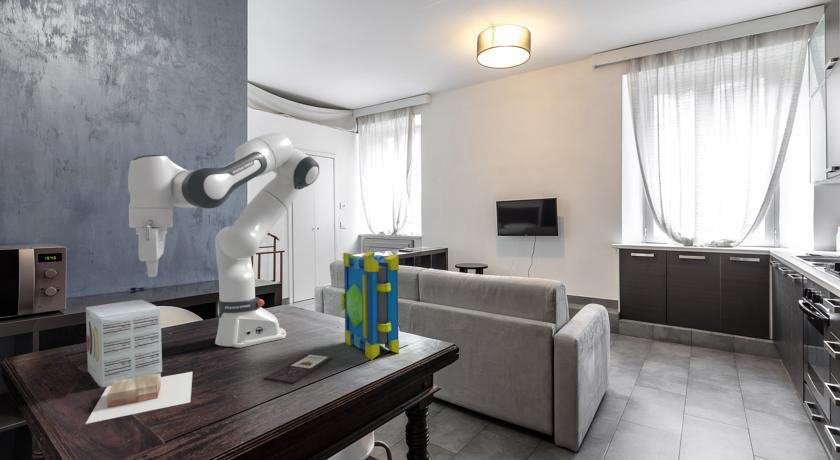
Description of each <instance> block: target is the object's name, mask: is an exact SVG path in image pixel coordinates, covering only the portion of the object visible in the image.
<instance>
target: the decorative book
mask: <svg viewBox="0 0 840 460" xmlns="http://www.w3.org/2000/svg"><path fill="white" fill-rule="evenodd" d="M375 254H376V253H375V251H372V250H371V251H370V250H368V251H367V252H366V253H364V254H362V256H359V255H358V256H357V255H356V256H355V255H353V254H351V253H348V252H343V266H344V273H343V274H344V291H343V292H341V291H340V292H341V296H340V297H341V298H340V299H341V303H340V304H341V310H343V309H344V326H345V327H344V342H345V343H346V344H347V345H348V346H352V345H354V346H356V348H358V349H361V350H363V351H364V356H365V357H366V358H368V359H369V360H370V361H372V360H374V359H375V358H376V357H378V356H379V355H380V350H381V349H380V345H384V348H386V349H387V350H389V351H391V352H393V353H397V354H399V353H400V339H399V294H398V293H399V288H398V287H399V286H398V285H399V277H398V276H399V275H398V271H399V261H400V260H399V259H400V258H399V255H398V254H390V255H388V256H384V255H383V254H382V255H381V254H376V255H375Z"/></svg>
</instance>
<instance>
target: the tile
mask: <svg viewBox="0 0 840 460" xmlns="http://www.w3.org/2000/svg"><path fill="white" fill-rule="evenodd" d="M161 373H162V372H160V373H156V374H152V375H147V376H141V377H135V378H129V379H124V380H118V381H114V383H113V385H110V386H111V388H110V390H109V392H108V393H107V408H110V407H116V406H121V405H126V404H131V403H136V402H141V401H146V400H151V399H157V398H158V395H159V391H160V387H161V377H162V376H161Z"/></svg>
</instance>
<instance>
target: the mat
mask: <svg viewBox="0 0 840 460" xmlns="http://www.w3.org/2000/svg"><path fill="white" fill-rule="evenodd" d="M192 383H193V371H188V372H183V373H177V374H172V375H165V376H161V387H160V391H159V395H158V398H157V399H151V400H146V401H141V402H136V403H131V404H126V405H121V406H116V407H110V408H107V393H108V392H109V390H110V388H111V386H112V385H110V386H106V387H105V390H104V392H103V393H102V395H101V396H100V398H99V400H98V402H97V403H96V405H95V407H94V408H93V410H92V412H91V414H90V415H89V417H88V419H87V420H86V422H85V425H88V424H92V423H93V424H94V423H98V422H103V421H107V420H111V419H117V418H122V417H125V416H131V415H135V414H140V413H145V412H150V411H155V410H160V409H164V408H169V407H174V406H179V405H185V404H188V403H191V399H192V398H191V397H192V387H193V385H192Z"/></svg>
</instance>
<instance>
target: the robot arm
mask: <svg viewBox="0 0 840 460" xmlns="http://www.w3.org/2000/svg"><path fill="white" fill-rule="evenodd" d="M271 172H273V173H275V174H276V175H275V176H274V178H272V180H270V181H269V182H268V183H267V184H265V185H264V187H263V188H262V189H261V190H260V191H259V192H258V193H257V194H256V195H255V196H254V197H253V198H252V199H251V201H250V202H249V203H247V205H246V206H245V208H244V209H243V211H242V212H241V214H240V215H239V216H238V218H237V219H236V220H235V222H234V223H233V224H232V225H230V226H225V227H223V228H222V229H220V230H219V231H218V232H217V234H216V236H215V238H214V246H215V259H216V265H217V274H218V294H219V297H218V298H219V300H217V316H218V327H217V333H216V337H215V341H214V344H215V345H218V346H220V347H233V348H237V349H238V348H245V347H249V346H255V345H258V344H264V343H268V342H269V343H270V342H273V341H277V340H282V339H284V338H286V337H287V332H286V330H285V329H284V328H282V327H280V324H279V320H278V318H277V317H276V316H275V315H274V314H273V313H271V312H270V311H268V310H266V309H265V308H263V307H262V306H264V305H265V301H264V299H261V298H259V297H258V296H256V285H255V284H256V280H255V278H256V277H255V275H256V274H255V272H254V267H253V264H252V262H253V261H252V258H251V257H252V256H254V255H255V254H257V252H258V251H259V248H260V247H261V245H262V243H263V242H264V241H265V239H266V238H267V236H268V234H269V233H270V231H271V229H272V228H273V227H274V226H275V224H276V223H277V222H278V221H279V219H281V217H282V216H283V215H284V214H285V213H286V211H287V210H288V209H289V208H290V207H291V205H292V204H293V203H294V201H295V199H296V198H297V196H298V194H299V192H300V190H303V189H304V188H307V187H309V186H311V185H312V184H313V183H315V182H316V180H317V179H318V176H319V174H320V165H319V163H318V162H317V161H316V160H315V158H313V157H311V156H308V154H306V153H304V152H303V151H302V150H299V149H297V148H294V146H293V144H292V141H291V139H289V137H288V136H286V134H284V133H281V132H280V133H279V132H273V133H267V134H264V135H263V134H262V135H260V136H257V137H254V138H251V139H250V140H247V141H246V142H244V143H242V144H241V145H239V146H237V148H235V151H234V161H231V162H230V163H227V164H225V165H224V166H222V167H219V168H218V167H203V168H199V169H193V170H189V169H186V168H183V167H182V166H180V165H178V164H177V163H175V162H173V161H172V160H170V158H169V157H168V156H167V155H164V154H147V155H144V154H143V155H138V156H136V157H134V158H132V159H131V160H130V164H129V167H128V174H127V175H128V176H127V187H128V188H127V189H128V192H129V196H130V202H129V204H128V225H129V226H128V227H129V228H131V229H132V228H135V235H138V260H139V262H146V263H145V264H146V269H147V277H148V278H156V277H157V275H158V270H159V269H158V267H159V260H160V258H161V257H162V256H163V255H164V251H165V245H166V235H167V234H168V231H167V230H168V228H173V227H174V222H173V221H174V220H173V214H174V212H173V206H174V207H178V208H182V209H191V208H192V209H198V208H202V209H215V208H218V207H220V206H222V205H223V204H224V203H225V202H226V200H228V199H229V197H230V195H231V194H232V193H234V191H235V190H236V189H237V188H240V187H241V186H242V185H244V184H246V183H248V182H250V181H251V180H253V179H255V178H258V177H262V176H264V175H266V174H269V173H271Z"/></svg>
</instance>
